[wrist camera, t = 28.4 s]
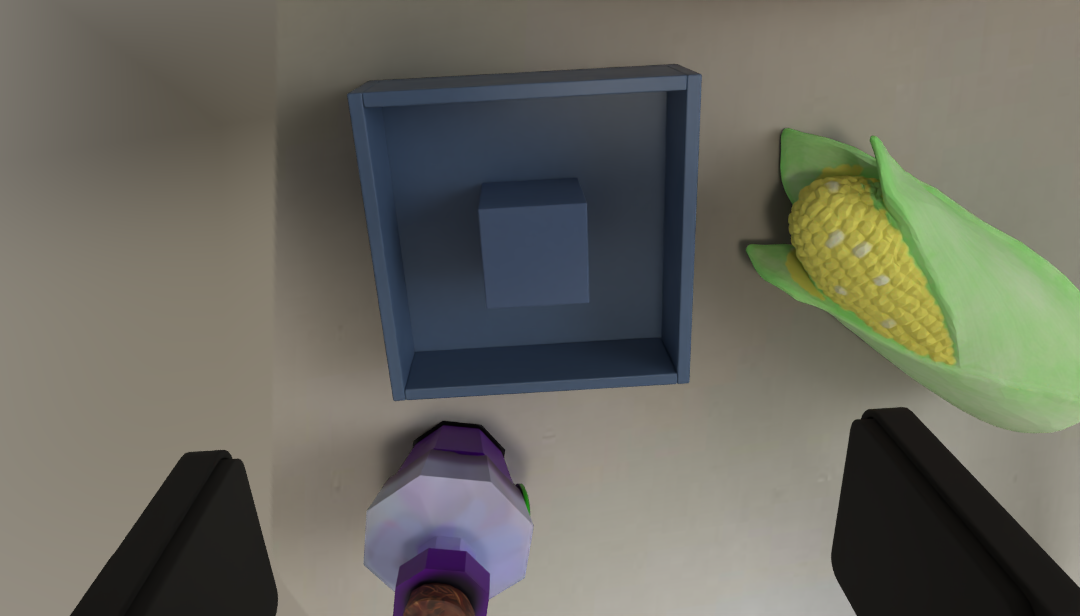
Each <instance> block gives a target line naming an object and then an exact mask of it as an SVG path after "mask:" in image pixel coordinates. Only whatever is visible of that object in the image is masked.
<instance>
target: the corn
mask: <svg viewBox="0 0 1080 616" xmlns="http://www.w3.org/2000/svg"><path fill="white" fill-rule="evenodd" d="M870 142H871V145H872V148H873V151H874V154H875V158H874V157H872V156H870V155H868V154H866V153H864V152H862V151H860V150H858V149H857V148H855V147H853V146H850V145H847V144H844V143H841V142H838V141H835V140H832V139H829V138H825V137H821V136H817V135H812V134H807V133H802V132H799V131H796V130H793V129H790V128H787V129H784V130H783V132H782V135H781V159H780V169H781V179H782V183H783V186H784V190H785V192H786V194H787V196H788V197H789V199H790V201H791V203H792V205H793V206H792V209H791V213H790V214H789V217H788V223H789V224H790V225H789V233H790V234H791V243H792V245H789V244H772V245H757V244H750V245H748V246H747V248H746V252H747V254H748V256H749V258H750V260H751V262H752V264H753V266H754V268H755V270H756V271H757V272H758V274H759V275H760V276H761V277H762V278H763V279H764V280H765V281H767V282H769V283H771V284H773V285H775V286H776V287H778V288H780V289H781V290H783V291H785V292H786V293H787V294H789V295H790V296H791V297H793V298H794V299H795V300H797V301H800V302H802V303H806V304H810V305H814V306H816V307H818V308H820V309H822V310H825V311H827V312H828V313H830V314H832V315H833V316H834V317H835V318H836V319H838V320H839V321H840V322H841V323H842V324H843V325H844V326H845V327H847V328H848V329H850V330H851V331H852V332H854V333H855V334H856V335H857V336H859V337H860V338H861V339H862V340H864V341H865V342H866V343H867V344H868V345H870V346H871V347H872V348H873V349H875V350H876V351H877V352H878V353H880V354H881V355H882V356H884V357H885V358H886V359H887V360H889V361H890V362H891V363H893V364H894V365H895V366H897V367H898V368H899V369H901V370H902V371H903V372H905V373H906V374H907V375H909V376H910V377H911V378H913V379H914V380H915V381H917V382H918V383H920V384H921V385H923V386H924V387H926V388H928V389H929V390H931V391H932V392H934V393H935V394H937V395H938V396H940V397H941V398H943V399H944V400H946V401H947V402H949V403H951V404H952V405H954V406H955V407H957V408H959V409H960V410H962V411H964V412H966V413H968V414H970V415H972V416H974V417H976V418H977V419H979V420H982V421H984V422H986V423H989V424H991V425H994V426H996V427H1000V428H1003V429H1006V430H1011V431H1016V432H1022V433H1051V432H1056V431H1060V430H1064V429H1066V428H1068V427H1070V426H1072V425H1075V424H1077V423H1079V422H1080V291H1079V290H1078V289H1077V288H1076V287H1075V286H1074V285H1073V283H1072V282H1071V281H1070V280H1069V279H1068V278H1067V277H1066V276H1065V275H1064V274H1062V273H1061V272H1060V271H1059V270H1058V269H1056V268H1055V267H1054V266H1053V265H1051V264H1050V263H1049V262H1048V261H1046V260H1045V259H1044V258H1042V257H1041V256H1040V255H1038V254H1037V253H1035V252H1034V251H1033V250H1031V249H1030V248H1028V247H1027V246H1026V245H1024V244H1023V243H1022V242H1020V241H1018V240H1016V239H1014V238H1013V237H1011V236H1009V235H1007V234H1005V233H1003V232H1002V231H1000V230H998V229H996V228H994V227H992V226H990V225H989V224H987V223H985V222H983V221H982V220H980V219H979V218H977V217H976V216H974V215H973V214H971V213H970V212H969V211H967V210H966V209H964V208H963V207H962V206H960V205H959V204H957V203H956V202H954V201H953V200H951V199H950V198H948V197H947V196H946V195H944V194H943V193H942V192H940V191H939V190H938V189H936V188H935V187H932V186H930V185H928V184H926V183H923V182H921V181H919V180H918V179H916V178H915V177H913V176H912V175H911V174H909V173H907V172H905V171H904V170H903V169H902V168H901V167H900V166H899V164H898V163H897V162H896V161H895V160H894V159H893V158H892V157H891V156H890V155H889V153H888V152H887V150H886V148H885V147H884V145H883V143H882V142H881V140H880V139H879V138H878V137H876V136H871V138H870Z"/></svg>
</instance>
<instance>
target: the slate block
mask: <svg viewBox="0 0 1080 616" xmlns="http://www.w3.org/2000/svg"><path fill="white" fill-rule="evenodd" d="M478 220H479V232H480V244H481V255H482V267H483V279H484V290H485V302H486V308H487V309H494V308H511V307H529V306H546V305H563V304H580V303H589V266H588V221H587V202H586V200H585V197H584V194H583V191H582V188H581V186H580V183H579V180H578V178H562V179H544V180H526V181H509V182H491V183H482V187H481V193H480V199H479V205H478Z"/></svg>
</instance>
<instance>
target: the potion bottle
mask: <svg viewBox="0 0 1080 616" xmlns="http://www.w3.org/2000/svg"><path fill="white" fill-rule="evenodd" d="M504 454H505V449H504V448H503V447H502V446H501V445H500V444H499V443H498V442H497V441H496V440H495V439H494V438H493V437H492V436H491V435H490V433H489V432H488V431H487V430H486V429H485V428H484V427H483V426H482V425H478V424H468V423H458V422H448V421H442V422H441V423H439V424H438V425H436V426H435V427H433V428H432V429H430V430H429V431H427V432H426V433H425V434H423V435H422V436H420V437H419V438H417V439H416V440H414V441H413V449H412V451H411V452H410V454H409V455H408V457H407V458H406V460H405V461H404V463H403V465H402V466H401V468H400V469H399V471H398V472H397V473H396V474H395V475H393V476H392V477H390V478H388V480H387V481H386V483H385V484H384V486H383V487H382V489H381V490H380V492H379V493H378V495H377V496H376V498H375V499H374V501H373V502H372V504H371V505H370V507H369V508H368V510H367V515H366V532H365V550H364V566H366V567H367V568H368V569H369V570H370V571H371V572H372V573H373V574H375V575H376V576H377V577H378V578H379V579H380V580H381V581H383V582H384V583H385V584H386V585H387V586H388V587H389V588H391V589H392V590H393V591H394V592H395V600H394V612H393V616H486V614H487V607H488V601H489V599H491V598H492V597H494V596H496V595H497V594H499V593H501V592H502V591H504V590H506V589H507V588H509V587H511V586H512V585H514V584H516V583H517V582H519V581H521V580H522V579H524V578H525V573H526V567H527V562H528V556H529V550H530V544H531V539H532V533H533V527H534V525H533V523H532V520H531V517H530V504H529V499H528V494H527V492H526V490H525V487H524V485H523V484H516V485H514V484H513V482H512V479H511V477H510V474H509V471H508V468H507V466H506V463H505V460H504Z"/></svg>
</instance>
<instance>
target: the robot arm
mask: <svg viewBox="0 0 1080 616" xmlns="http://www.w3.org/2000/svg"><path fill="white" fill-rule="evenodd" d="M831 561H832V567H833V571H834V574H835V577H836V579H837V581H838V583H839V584H840V586H841V588H842V590H843V592H844V593H845V595H846V597H847V599H848V601H849V602H850V604H851V606H852V608H853V610H854V611H855V613H856V615H857V616H1080V588H1079V587H1078V586H1077V584H1076V583H1075V582H1074V581H1073V580H1072V579H1071V578H1070V577H1069V576H1068V575H1067V574H1066V573H1065V572H1064V571H1063V570H1062V569H1061V568H1060V567H1059V566H1058V565H1057V563H1056V562H1055V561H1054V560H1053V559H1052V558H1051V557H1050V556H1049V555H1048V554H1047V553H1046V552H1045V551H1044V550H1043V549H1042V548H1041V547H1040V546H1039V545H1038V544H1037V542H1036V541H1035V540H1034V539H1033V538H1032V537H1031V536H1030V535H1029V534H1028V533H1027V532H1026V531H1025V530H1024V529H1023V528H1022V527H1021V526H1020V525H1019V524H1018V523H1017V521H1016V520H1015V519H1014V518H1013V517H1012V516H1011V515H1010V514H1009V513H1008V512H1007V511H1006V510H1005V509H1004V508H1003V507H1002V506H1001V505H1000V504H999V503H998V502H997V500H996V499H995V498H994V497H993V496H992V495H991V494H990V493H989V492H988V491H987V490H986V489H985V488H984V487H983V486H982V485H981V484H980V483H979V482H978V481H977V479H976V478H975V477H974V476H973V475H972V474H971V473H970V472H969V471H968V470H967V469H966V468H965V467H964V466H963V465H962V464H961V463H960V462H959V461H958V460H957V458H956V457H955V456H954V455H953V454H952V453H951V452H950V451H949V450H948V449H947V448H946V447H945V446H944V445H943V444H942V443H941V442H940V441H939V440H938V438H937V437H936V436H935V435H934V434H933V433H932V432H931V431H930V430H929V429H928V428H927V427H926V426H925V425H924V424H923V423H922V422H921V421H920V420H919V419H918V417H917V416H916V415H915V414H914V413H913V412H912V411H910V410H909V409H908V408H904V407H898V408H882V409H868V410H866V411H865V412H864V413H863V415H862V418H861V419H858V420H855V421H853V423H852V425H851V429H850V436H849V442H848V449H847V455H846V461H845V468H844V474H843V481H842V487H841V494H840V500H839V507H838V513H837V520H836V526H835V533H834V539H833V545H832V552H831ZM277 606H278V594H277V588H276V584H275V580H274V576H273V573H272V569H271V565H270V561H269V558H268V554H267V550H266V546H265V543H264V539H263V535H262V531H261V527H260V524H259V519H258V516H257V512H256V508H255V504H254V500H253V497H252V493H251V489H250V485H249V481H248V478H247V474H246V470H245V467H244V464H243V462H242V461H241V460H240V459H232V457H231V455H230V453H229V452H228V451H226V450H215V451H199V452H188V453H185V454H184V455H183V456H182V457H181V459H180V460H179V461H178V463H177V464H176V466H175V467H174V468H173V470H172V471H171V473H170V474H169V476H168V477H167V478H166V480H165V481H164V483H163V484H162V486H161V487H160V489H159V490H158V491H157V493H156V494H155V496H154V497H153V499H152V500H151V502H150V503H149V505H148V506H147V507H146V509H145V510H144V512H143V513H142V514H141V516H140V517H139V519H138V520H137V522H136V523H135V525H134V526H133V528H132V529H131V530H130V532H129V533H128V535H127V536H126V537H125V539H124V540H123V542H122V543H121V545H120V546H119V548H118V549H117V550H116V552H115V553H114V554H113V555H112V556H111V558H110V559H109V560H108V562H107V564H106V565H105V566H104V568H103V569H102V571H101V572H100V573H99V575H98V576H97V578H96V579H95V581H94V582H93V583H92V585H91V586H90V588H89V589H88V591H87V592H86V593H85V595H84V596H83V598H82V600H81V601H80V602H79V604H78V605H77V606H76V608H75V609H74V611H73V612H72V614H71V615H70V616H275V615H276V612H277Z"/></svg>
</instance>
